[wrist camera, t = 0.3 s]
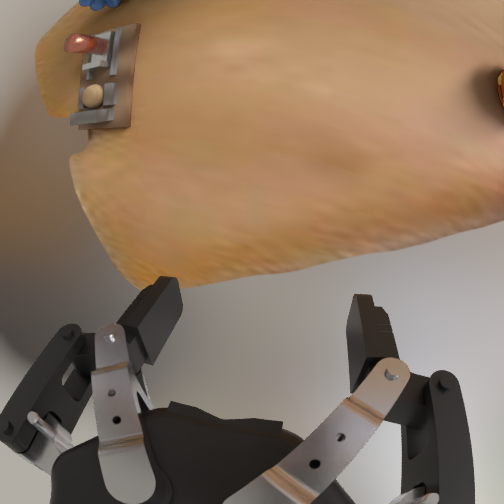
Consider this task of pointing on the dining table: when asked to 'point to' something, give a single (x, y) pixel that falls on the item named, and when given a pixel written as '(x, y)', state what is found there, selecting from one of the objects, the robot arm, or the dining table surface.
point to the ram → (92, 49)
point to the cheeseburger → (501, 87)
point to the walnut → (93, 96)
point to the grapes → (99, 3)
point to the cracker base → (111, 83)
